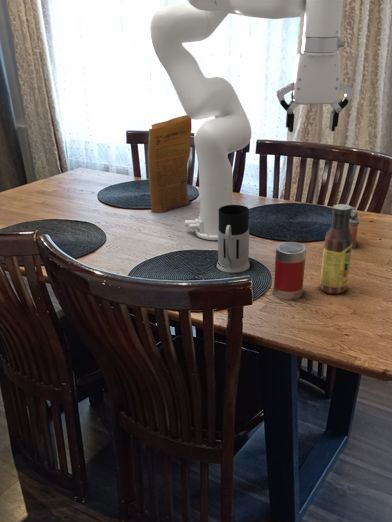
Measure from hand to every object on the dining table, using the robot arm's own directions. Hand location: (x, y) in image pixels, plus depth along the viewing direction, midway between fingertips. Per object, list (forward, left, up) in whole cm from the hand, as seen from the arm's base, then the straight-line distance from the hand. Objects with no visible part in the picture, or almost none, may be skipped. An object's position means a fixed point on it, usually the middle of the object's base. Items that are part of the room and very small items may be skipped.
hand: (310, 130), depth 123 cm
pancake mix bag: (-34, +46, -32) cm, 66 cm away
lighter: (+15, +9, -32) cm, 37 cm away
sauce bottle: (+4, -18, -32) cm, 37 cm away
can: (-7, -19, -32) cm, 38 cm away
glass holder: (-19, -5, -32) cm, 38 cm away
